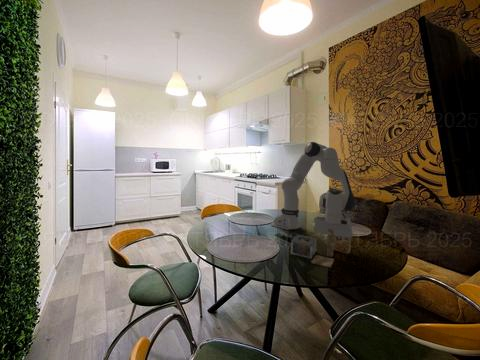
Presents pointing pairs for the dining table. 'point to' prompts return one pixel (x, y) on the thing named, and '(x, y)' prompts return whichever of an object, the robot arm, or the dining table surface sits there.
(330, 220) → the robot arm
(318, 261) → the cork pad
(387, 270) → the dining table surface
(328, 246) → the beige square bar
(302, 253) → the guard box
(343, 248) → the candy box
